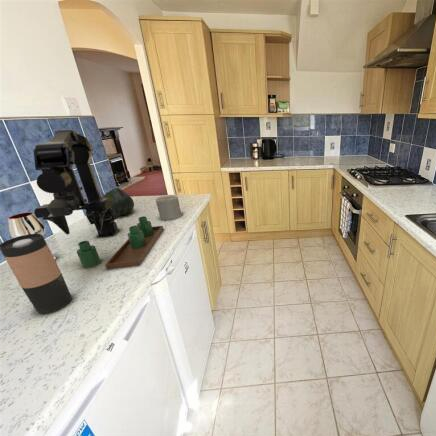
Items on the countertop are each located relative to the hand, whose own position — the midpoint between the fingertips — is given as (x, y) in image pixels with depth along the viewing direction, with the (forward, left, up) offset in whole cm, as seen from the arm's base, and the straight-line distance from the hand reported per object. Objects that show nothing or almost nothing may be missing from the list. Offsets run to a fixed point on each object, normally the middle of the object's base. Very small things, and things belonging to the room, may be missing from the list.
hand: (84, 232), depth 80 cm
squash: (-13, +49, -12) cm, 53 cm away
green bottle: (-2, 0, -12) cm, 12 cm away
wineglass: (-20, +5, -12) cm, 24 cm away
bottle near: (+10, +19, -12) cm, 25 cm away
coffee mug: (+14, +41, -12) cm, 46 cm away
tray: (+10, +9, -12) cm, 19 cm away
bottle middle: (+10, +9, -12) cm, 19 cm away
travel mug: (-1, -21, -12) cm, 24 cm away
